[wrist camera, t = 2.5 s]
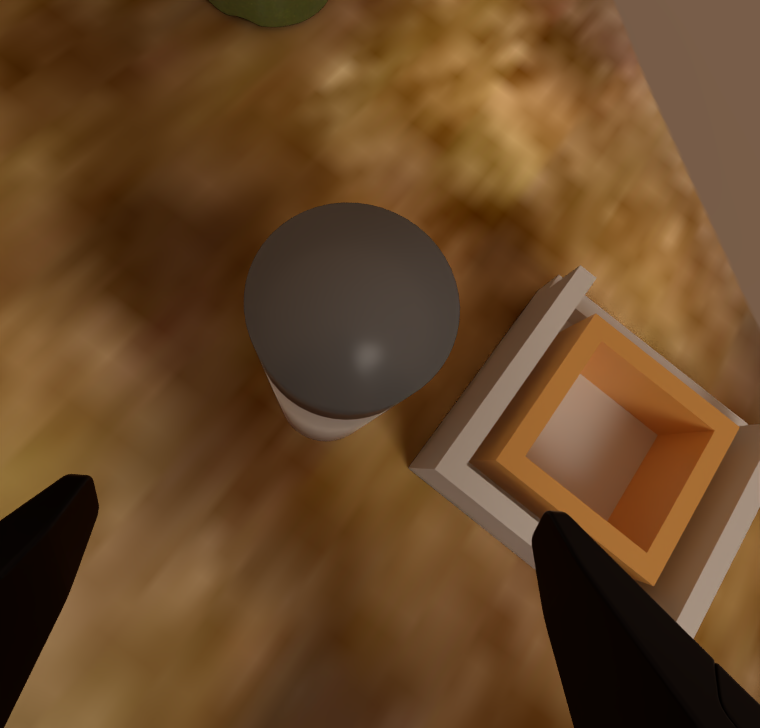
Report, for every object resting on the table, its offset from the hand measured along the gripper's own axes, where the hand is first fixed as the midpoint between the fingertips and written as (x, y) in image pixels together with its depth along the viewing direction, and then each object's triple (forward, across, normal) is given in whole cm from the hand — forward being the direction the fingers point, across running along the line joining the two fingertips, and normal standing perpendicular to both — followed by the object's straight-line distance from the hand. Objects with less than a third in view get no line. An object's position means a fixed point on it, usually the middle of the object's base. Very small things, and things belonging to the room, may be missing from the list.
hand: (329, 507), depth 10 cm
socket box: (+9, -11, +6) cm, 16 cm away
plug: (+10, 0, +5) cm, 11 cm away
